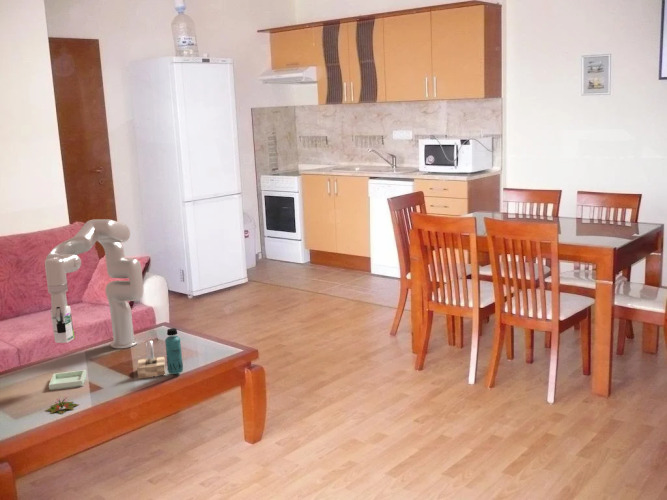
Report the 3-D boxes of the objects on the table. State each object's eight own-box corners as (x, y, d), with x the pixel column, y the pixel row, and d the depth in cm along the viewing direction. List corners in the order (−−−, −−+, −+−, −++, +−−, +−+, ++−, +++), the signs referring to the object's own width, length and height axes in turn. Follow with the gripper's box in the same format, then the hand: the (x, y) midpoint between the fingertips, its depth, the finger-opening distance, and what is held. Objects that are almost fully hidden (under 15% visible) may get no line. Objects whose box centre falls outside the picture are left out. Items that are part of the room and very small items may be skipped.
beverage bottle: (164, 375, 294) (160, 329, 290) (178, 370, 299) (173, 325, 295) (173, 378, 289) (169, 332, 285) (187, 373, 294) (182, 328, 290)
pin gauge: (148, 371, 299) (144, 340, 296) (155, 370, 300) (152, 339, 297) (148, 374, 296) (144, 342, 293) (155, 373, 296) (152, 341, 294)
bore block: (139, 369, 302) (138, 359, 301) (165, 366, 304) (164, 356, 303) (138, 378, 291) (137, 368, 290) (165, 375, 293) (164, 365, 293)
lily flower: (38, 413, 263) (36, 402, 262) (62, 400, 273) (61, 389, 272) (61, 418, 257) (60, 406, 257) (85, 405, 268) (84, 393, 267)
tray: (54, 379, 295) (53, 373, 295) (86, 375, 298) (85, 369, 297) (49, 390, 283) (48, 384, 282) (82, 386, 286) (82, 380, 285)
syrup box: (67, 343, 284) (62, 309, 281) (54, 342, 285) (49, 308, 282) (74, 338, 289) (70, 305, 286) (62, 338, 290) (57, 304, 288)
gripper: (51, 284, 290) (56, 324, 294) (44, 294, 274) (50, 337, 277) (70, 282, 292) (75, 322, 295) (64, 292, 275) (70, 335, 279)
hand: (63, 329), depth 286 cm, fingers closed on syrup box, 7 cm apart
